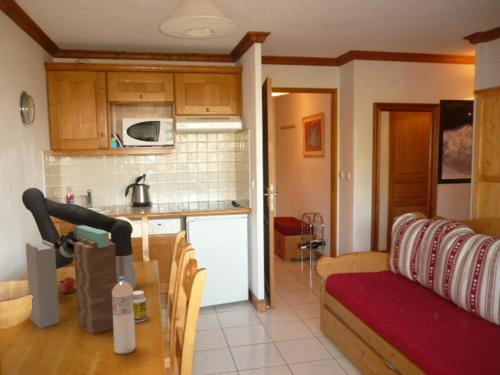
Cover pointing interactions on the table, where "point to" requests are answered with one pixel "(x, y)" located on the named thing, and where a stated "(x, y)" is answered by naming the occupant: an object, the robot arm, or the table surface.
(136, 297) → the pill bottle
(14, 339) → the table surface
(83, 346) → the table surface
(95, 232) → the teal bar
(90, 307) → the walnut stand
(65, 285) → the pomegranate
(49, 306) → the grey stand
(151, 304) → the table surface
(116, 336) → the water bottle
